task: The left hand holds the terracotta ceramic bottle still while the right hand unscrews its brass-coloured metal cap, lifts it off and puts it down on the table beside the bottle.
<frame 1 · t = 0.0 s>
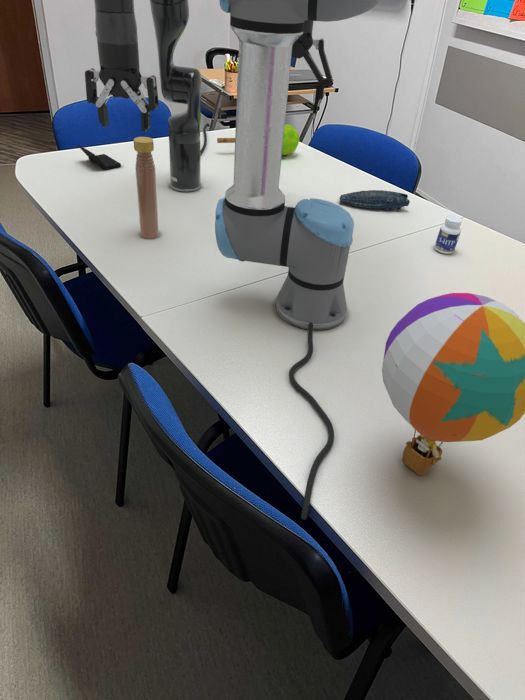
left hand: (125, 128, 108), 29 cm above the table, tool pointing down, fingers open, 8 cm apart
right hand: (288, 109, 135), 28 cm above the table, tool pointing down, fingers open, 13 cm apart
pill bottle: (443, 250, 140), on the table
decorative tree: (258, 154, 190), on the table
fish model: (372, 206, 160), on the table
black angled piece: (100, 164, 171), on the table
bottle: (149, 234, 135), on the table
toy: (417, 465, 81), on the table
cap: (143, 141, 120), point 24 cm above the table, screwed on, not yet turned
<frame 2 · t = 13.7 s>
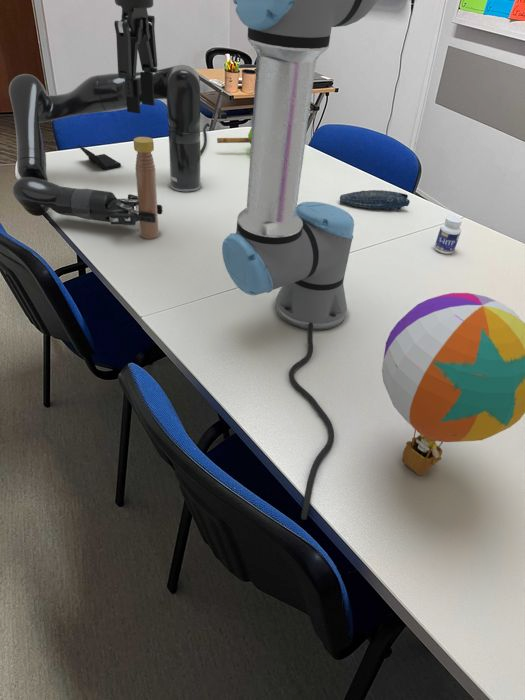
left hand: (158, 214, 131), 6 cm above the table, tool horizontal, fingers closed on bottle, 4 cm apart
right hand: (141, 108, 116), 31 cm above the table, tool pointing down, fingers open, 7 cm apart
bottle: (149, 234, 135), on the table, touching left hand
everything else where it was.
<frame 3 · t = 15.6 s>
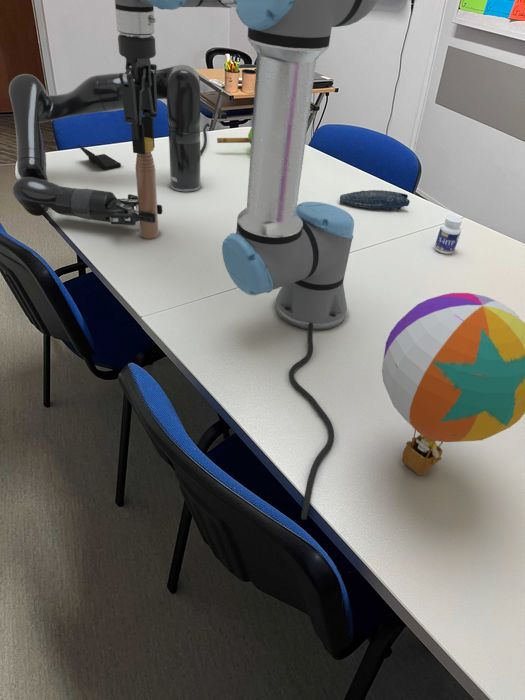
left hand: (158, 214, 131), 6 cm above the table, tool horizontal, fingers closed on bottle, 4 cm apart
right hand: (144, 149, 121), 22 cm above the table, tool pointing down, fingers closed on cap, 4 cm apart
bottle: (149, 234, 135), on the table, touching left hand
cap: (143, 141, 120), point 24 cm above the table, screwed on, not yet turned, touching right hand
everything else where it was.
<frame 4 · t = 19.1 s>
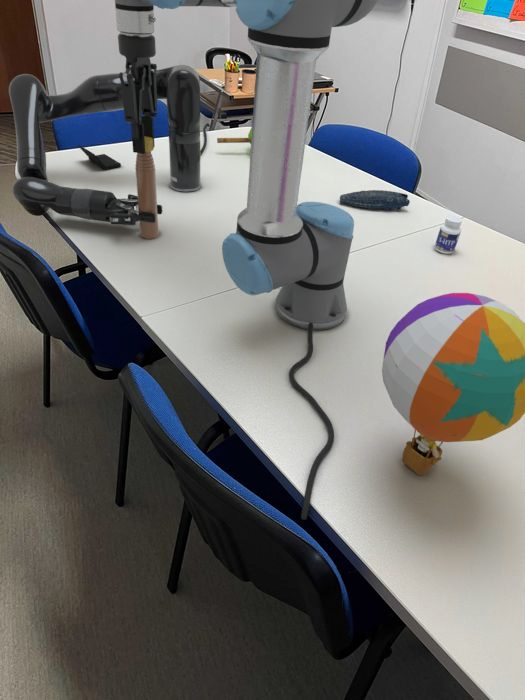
left hand: (158, 214, 131), 6 cm above the table, tool horizontal, fingers closed on bottle, 4 cm apart
right hand: (144, 149, 121), 22 cm above the table, tool pointing down, fingers closed on cap, 4 cm apart
bottle: (149, 234, 135), on the table, touching left hand
cap: (143, 140, 120), point 24 cm above the table, turned 123° so far, risen 0.1 cm, still on its thread, touching right hand
everything else where it was.
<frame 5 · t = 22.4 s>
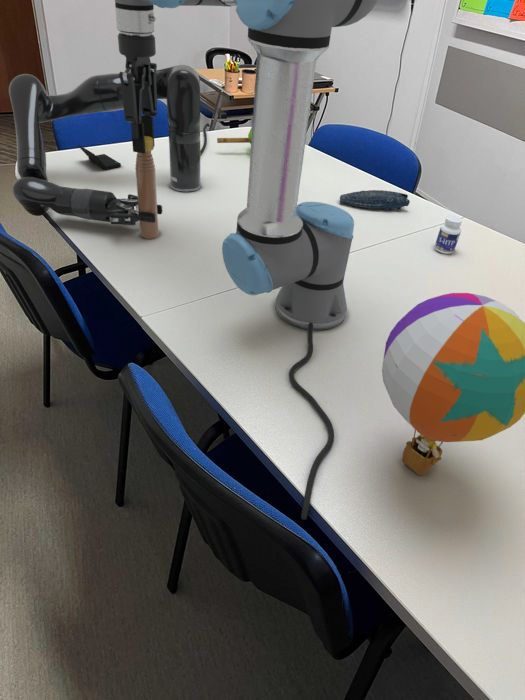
left hand: (158, 214, 131), 6 cm above the table, tool horizontal, fingers closed on bottle, 4 cm apart
right hand: (144, 148, 121), 22 cm above the table, tool pointing down, fingers closed on cap, 4 cm apart
bottle: (149, 234, 135), on the table, touching left hand
cap: (143, 139, 120), point 24 cm above the table, turned 246° so far, risen 0.2 cm, still on its thread, touching right hand
everything else where it was.
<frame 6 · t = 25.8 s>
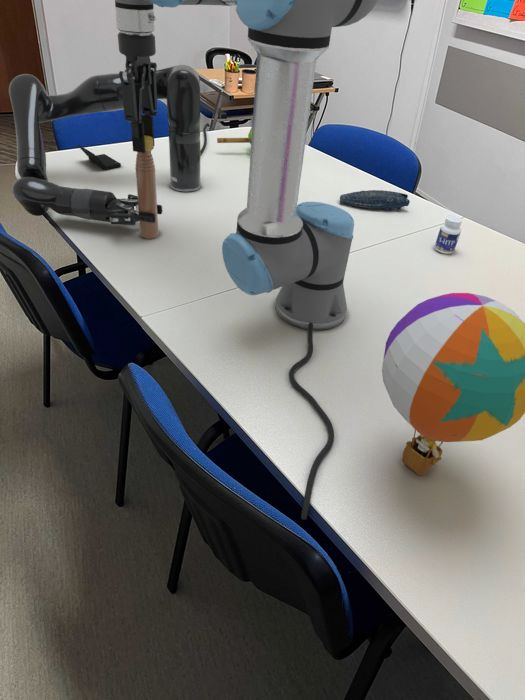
left hand: (158, 214, 131), 6 cm above the table, tool horizontal, fingers closed on bottle, 4 cm apart
right hand: (144, 148, 121), 22 cm above the table, tool pointing down, fingers closed on cap, 4 cm apart
bottle: (149, 234, 135), on the table, touching left hand
cap: (143, 139, 120), point 24 cm above the table, turned 369° so far, risen 0.3 cm, still on its thread, touching right hand
everything else where it was.
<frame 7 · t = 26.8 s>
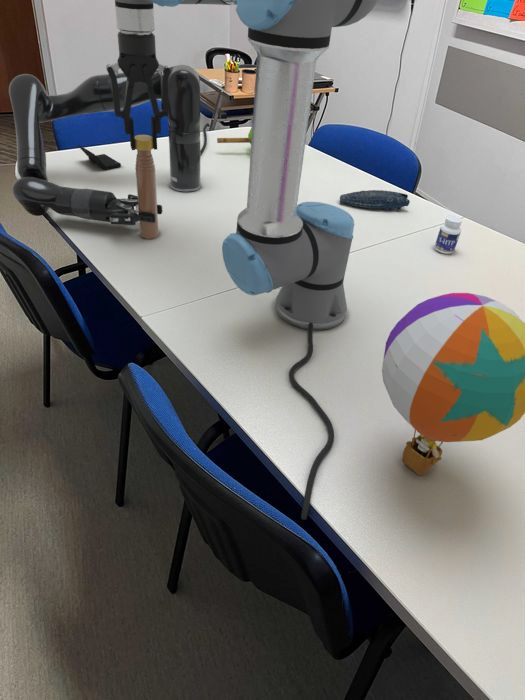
left hand: (158, 214, 131), 6 cm above the table, tool horizontal, fingers closed on bottle, 4 cm apart
right hand: (143, 147, 121), 22 cm above the table, tool pointing down, fingers closed on cap, 4 cm apart
bottle: (149, 234, 135), on the table, touching left hand
cap: (143, 139, 120), point 24 cm above the table, off its thread, touching right hand
everything else where it was.
when the right hand's fingers open (1 cm above the table, at t = 33.5 s): cap drops 1 cm, point 2 cm above the table.
when the left hand's fingers open (6 cm above the table, at t = 34.8 s): bottle stays where it is, on the table.
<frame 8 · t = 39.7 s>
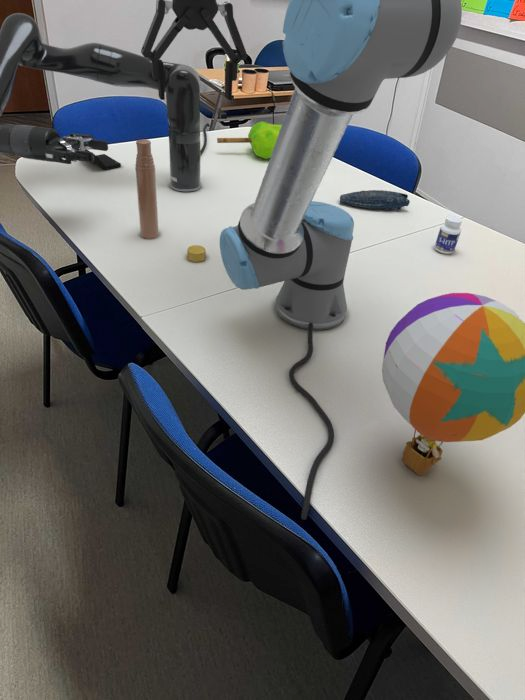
left hand: (100, 151, 123), 20 cm above the table, tool horizontal, fingers open, 8 cm apart
right hand: (195, 98, 105), 36 cm above the table, tool pointing down, fingers open, 13 cm apart
bottle: (149, 234, 135), on the table
cap: (196, 250, 126), point 2 cm above the table, off its thread
everything else where it was.
at the end: cap came off its thread; cap point 2.0 cm above the table; the left hand is holding nothing; the right hand is holding nothing; bottle tilted 0°; bottle moved 0.0 cm from its start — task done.
